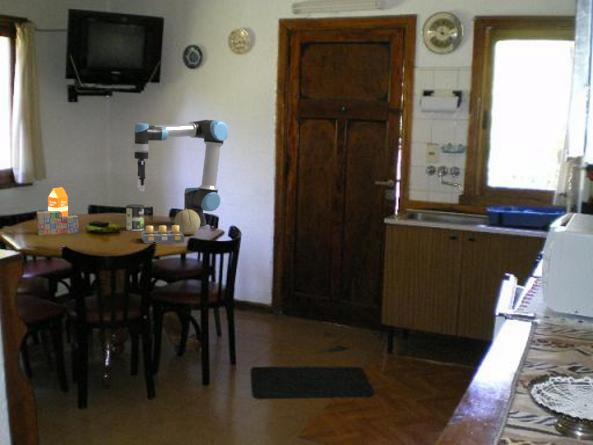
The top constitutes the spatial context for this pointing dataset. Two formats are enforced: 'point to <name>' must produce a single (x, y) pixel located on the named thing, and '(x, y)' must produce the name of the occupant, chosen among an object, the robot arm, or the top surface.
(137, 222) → the coffee can
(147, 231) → the button
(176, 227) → the button
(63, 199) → the orange juice
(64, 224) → the stack of blocks
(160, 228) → the button mid
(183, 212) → the cantaloupe
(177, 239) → the button board
